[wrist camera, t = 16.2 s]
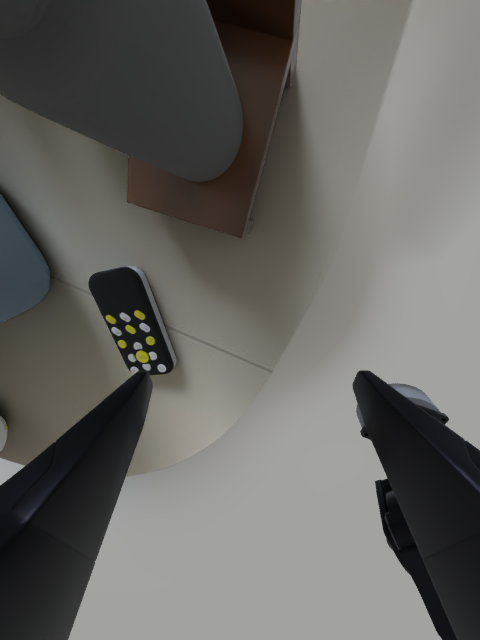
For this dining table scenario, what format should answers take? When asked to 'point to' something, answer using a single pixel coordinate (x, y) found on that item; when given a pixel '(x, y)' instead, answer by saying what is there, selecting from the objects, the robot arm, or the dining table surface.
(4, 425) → the duck
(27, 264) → the tan blue trash bin
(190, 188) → the spice shelf
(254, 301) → the dining table surface
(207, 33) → the bottle
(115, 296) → the remote control
